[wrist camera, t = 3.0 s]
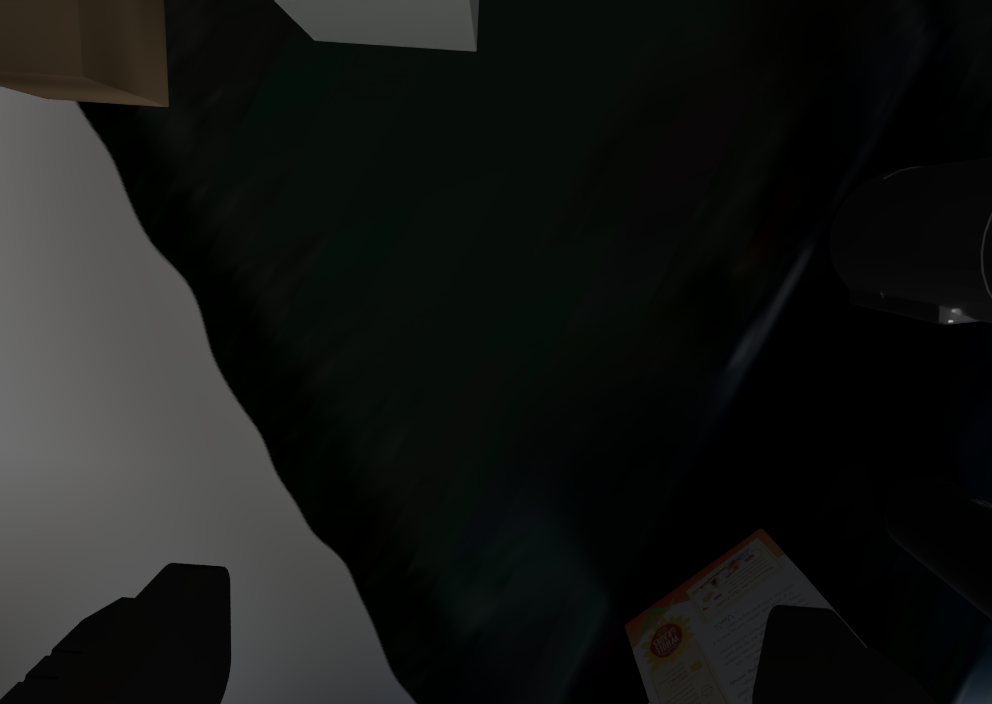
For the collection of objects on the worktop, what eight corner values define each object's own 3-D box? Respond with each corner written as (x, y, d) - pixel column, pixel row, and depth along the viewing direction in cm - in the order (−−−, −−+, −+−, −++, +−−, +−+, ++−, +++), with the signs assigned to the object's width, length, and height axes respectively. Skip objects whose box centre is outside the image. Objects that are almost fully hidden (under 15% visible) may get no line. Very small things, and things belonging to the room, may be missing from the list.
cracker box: (664, 670, 51) (773, 967, 31) (621, 621, 50) (704, 894, 30) (803, 576, 49) (1018, 826, 29) (761, 523, 48) (952, 743, 28)
